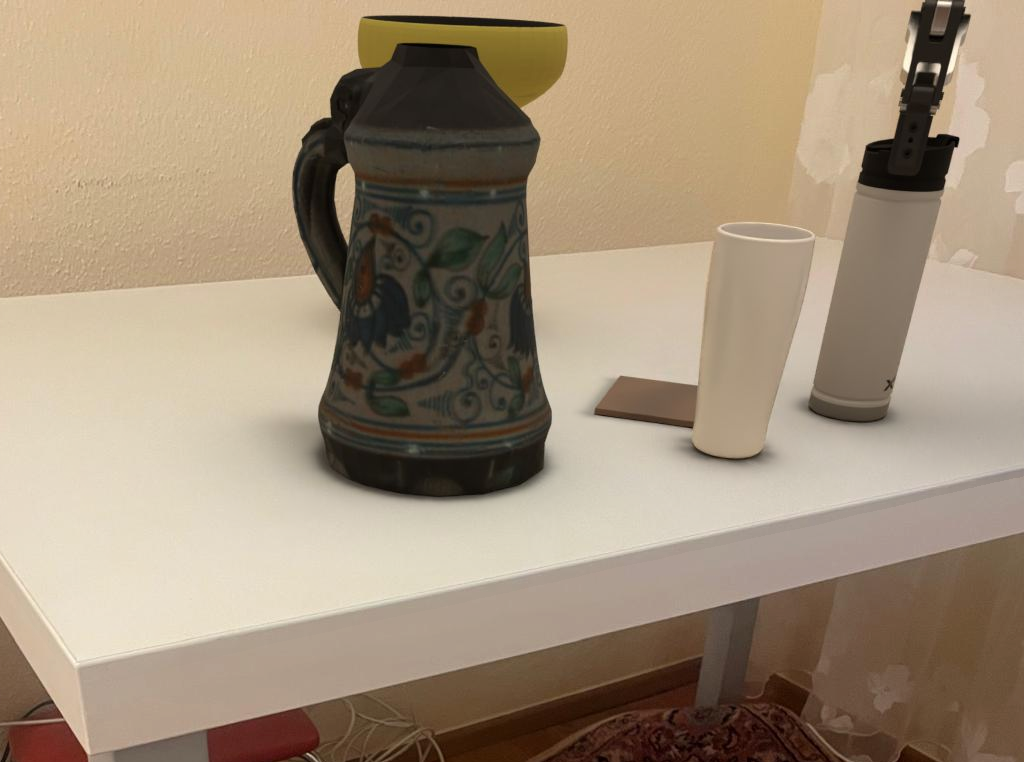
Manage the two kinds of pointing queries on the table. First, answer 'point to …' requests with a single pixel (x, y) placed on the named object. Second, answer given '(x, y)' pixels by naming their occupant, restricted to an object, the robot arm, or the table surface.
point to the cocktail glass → (500, 45)
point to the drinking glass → (748, 332)
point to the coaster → (650, 401)
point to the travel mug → (878, 281)
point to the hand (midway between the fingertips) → (902, 167)
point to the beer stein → (427, 276)
